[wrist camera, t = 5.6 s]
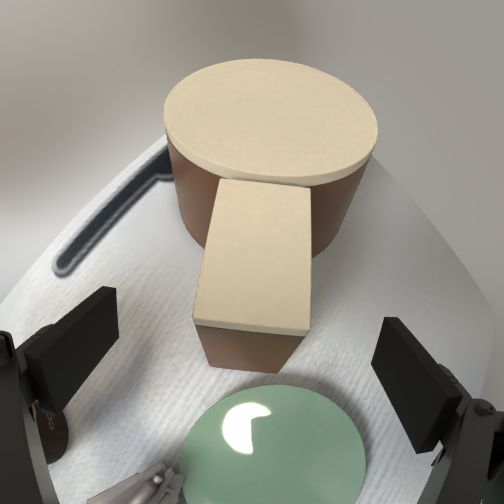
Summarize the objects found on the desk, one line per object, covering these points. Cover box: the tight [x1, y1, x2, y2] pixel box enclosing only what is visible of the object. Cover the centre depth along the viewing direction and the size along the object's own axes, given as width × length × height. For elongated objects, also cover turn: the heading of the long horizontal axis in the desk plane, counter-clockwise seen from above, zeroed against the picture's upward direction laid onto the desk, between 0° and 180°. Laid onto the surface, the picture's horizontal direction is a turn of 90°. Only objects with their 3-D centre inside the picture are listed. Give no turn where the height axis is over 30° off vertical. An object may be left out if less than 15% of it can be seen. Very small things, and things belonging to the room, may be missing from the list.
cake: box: [164, 59, 378, 258], centre depth 26 cm, size 16×16×11 cm
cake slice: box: [192, 178, 311, 374], centre depth 20 cm, size 5×8×11 cm, turn 174°
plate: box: [179, 384, 366, 504], centre depth 18 cm, size 13×13×1 cm
